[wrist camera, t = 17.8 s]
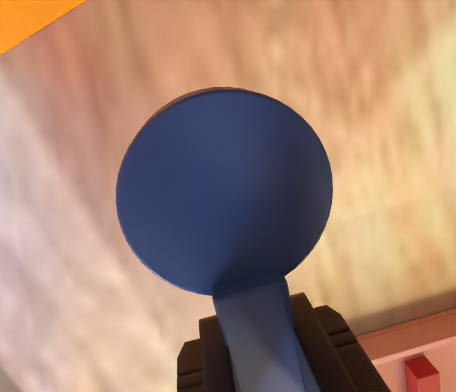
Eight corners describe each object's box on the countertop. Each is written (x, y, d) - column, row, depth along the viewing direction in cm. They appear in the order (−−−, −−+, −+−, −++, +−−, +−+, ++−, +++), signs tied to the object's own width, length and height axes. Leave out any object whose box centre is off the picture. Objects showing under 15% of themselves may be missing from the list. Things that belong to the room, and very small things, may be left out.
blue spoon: (354, 446, 13) (379, 501, 12) (222, 484, 13) (228, 546, 11) (301, 65, 9) (331, 63, 7) (94, 114, 8) (72, 124, 7)
